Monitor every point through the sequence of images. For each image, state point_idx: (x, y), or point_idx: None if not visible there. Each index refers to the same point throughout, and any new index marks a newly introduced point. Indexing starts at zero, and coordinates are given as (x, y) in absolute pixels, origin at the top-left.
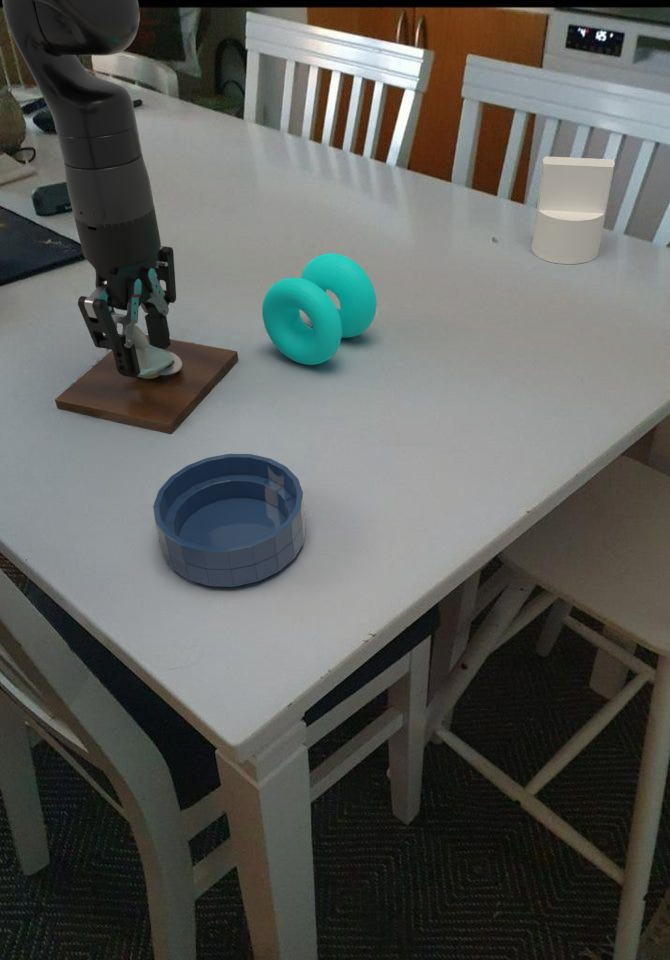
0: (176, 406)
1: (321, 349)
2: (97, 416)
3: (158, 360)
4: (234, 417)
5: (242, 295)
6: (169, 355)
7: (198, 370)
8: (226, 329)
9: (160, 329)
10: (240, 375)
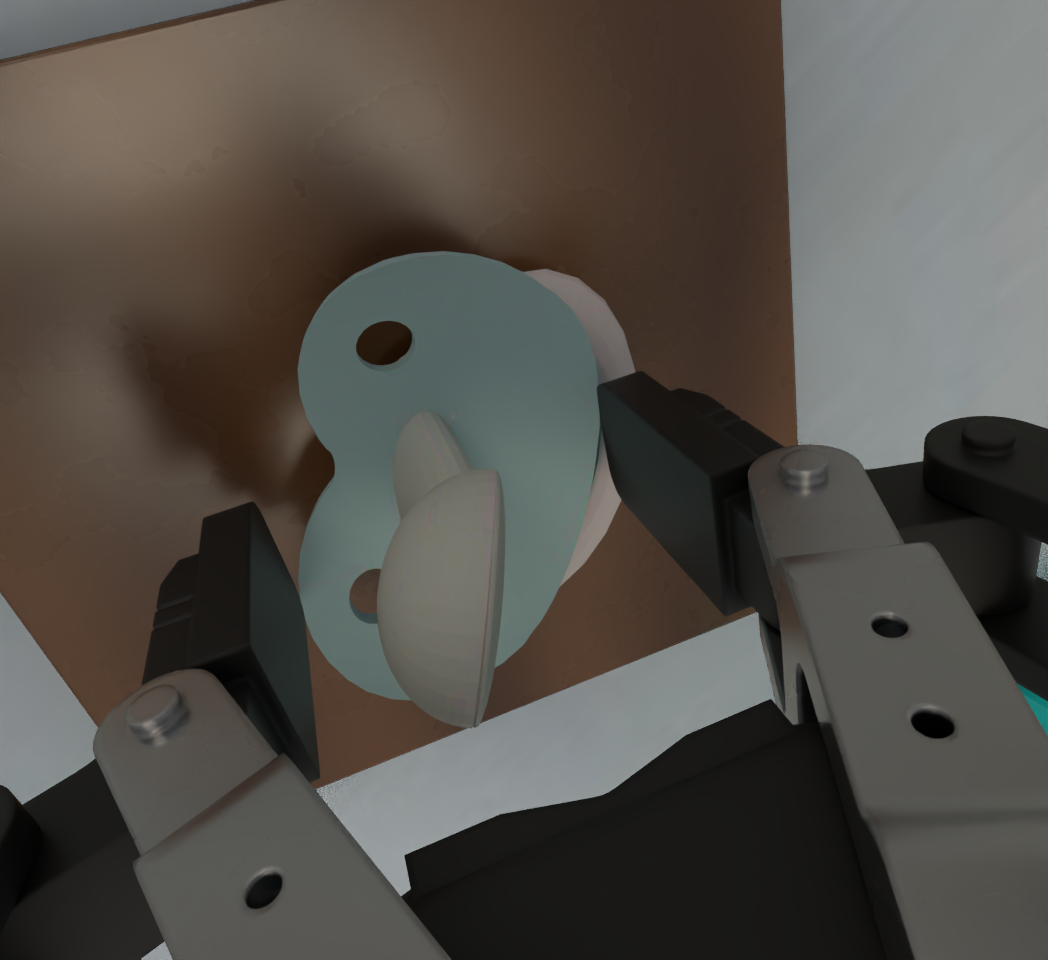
0: None
1: None
2: None
3: (509, 503)
4: (441, 839)
5: None
6: (566, 550)
7: (596, 597)
8: (989, 322)
9: (674, 540)
10: (683, 652)
